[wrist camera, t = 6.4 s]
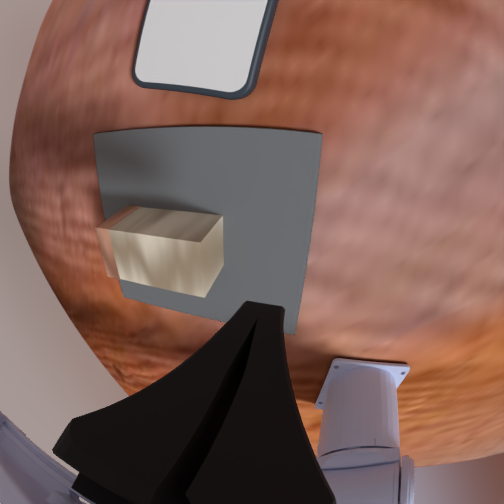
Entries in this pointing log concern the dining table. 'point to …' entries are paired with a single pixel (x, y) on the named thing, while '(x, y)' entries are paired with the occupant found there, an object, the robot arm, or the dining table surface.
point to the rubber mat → (222, 205)
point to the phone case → (203, 46)
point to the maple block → (163, 248)
